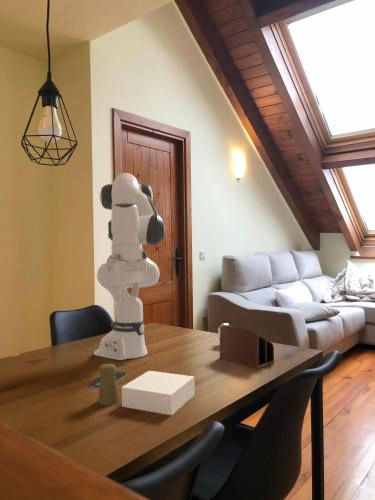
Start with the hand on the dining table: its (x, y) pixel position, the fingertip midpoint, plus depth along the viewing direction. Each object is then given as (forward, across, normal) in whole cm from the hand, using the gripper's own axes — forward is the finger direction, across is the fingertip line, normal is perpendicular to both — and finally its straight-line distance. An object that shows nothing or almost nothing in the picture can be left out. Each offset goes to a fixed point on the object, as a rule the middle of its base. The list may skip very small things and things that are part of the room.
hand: (127, 298), depth 129 cm
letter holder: (+29, +46, -26) cm, 60 cm away
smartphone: (+30, +9, +14) cm, 34 cm away
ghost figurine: (+28, +66, -12) cm, 73 cm away
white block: (+30, -1, -11) cm, 32 cm away
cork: (+30, -7, +3) cm, 31 cm away
